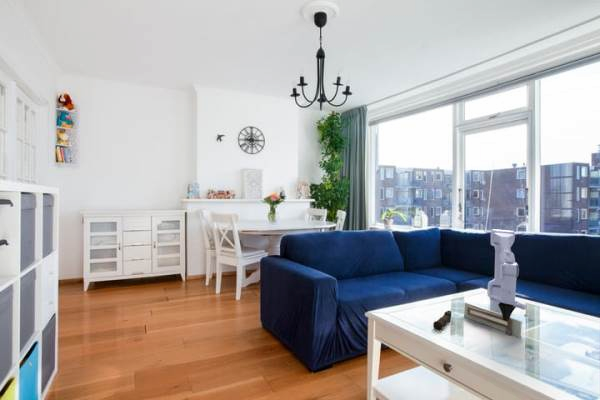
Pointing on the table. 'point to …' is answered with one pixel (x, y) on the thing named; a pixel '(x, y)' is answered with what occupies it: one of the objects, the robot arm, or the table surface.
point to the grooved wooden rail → (489, 317)
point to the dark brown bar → (442, 321)
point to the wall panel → (514, 329)
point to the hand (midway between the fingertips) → (506, 320)
